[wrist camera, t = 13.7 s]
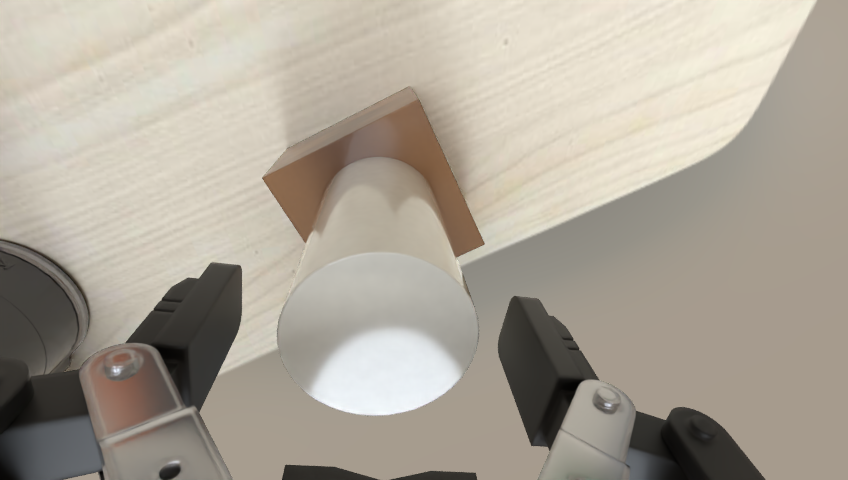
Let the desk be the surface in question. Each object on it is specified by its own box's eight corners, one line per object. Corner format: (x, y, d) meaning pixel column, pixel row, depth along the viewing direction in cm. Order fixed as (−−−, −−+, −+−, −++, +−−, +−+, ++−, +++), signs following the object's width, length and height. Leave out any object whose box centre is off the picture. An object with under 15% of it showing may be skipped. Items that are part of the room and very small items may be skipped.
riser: (353, 256, 29) (347, 307, 23) (286, 148, 25) (261, 178, 20) (464, 204, 28) (484, 244, 22) (409, 85, 25) (418, 98, 19)
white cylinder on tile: (425, 270, 23) (455, 422, 14) (316, 256, 22) (271, 409, 13) (447, 166, 20) (501, 266, 11) (327, 147, 20) (282, 238, 11)
